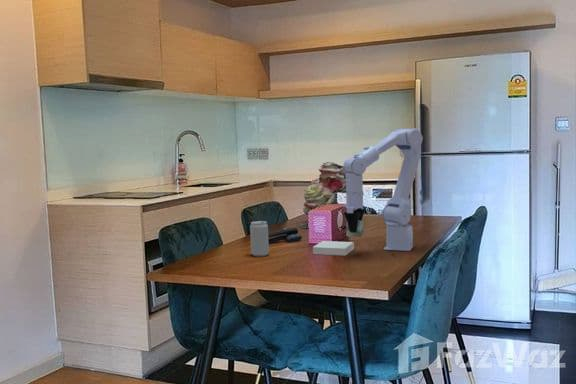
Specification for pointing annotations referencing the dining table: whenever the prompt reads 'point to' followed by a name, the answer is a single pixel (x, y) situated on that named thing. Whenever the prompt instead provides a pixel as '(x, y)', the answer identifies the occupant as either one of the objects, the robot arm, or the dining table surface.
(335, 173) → the rose bouquet
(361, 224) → the green cube
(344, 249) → the stacking base
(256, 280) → the dining table surface
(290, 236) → the can opener
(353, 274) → the dining table surface
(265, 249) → the beverage can
